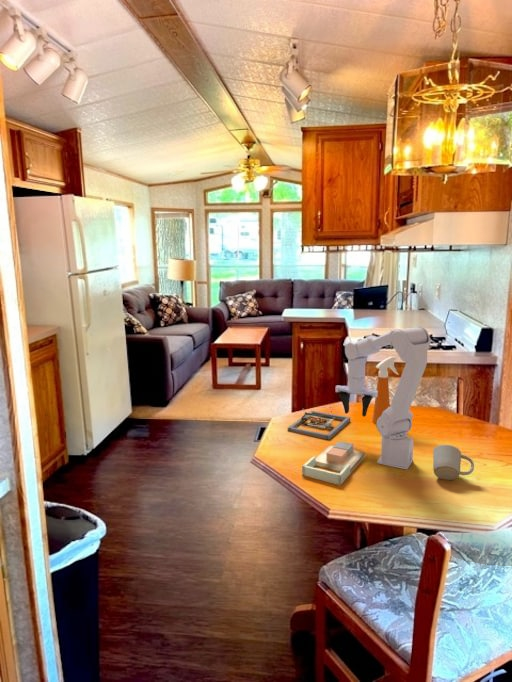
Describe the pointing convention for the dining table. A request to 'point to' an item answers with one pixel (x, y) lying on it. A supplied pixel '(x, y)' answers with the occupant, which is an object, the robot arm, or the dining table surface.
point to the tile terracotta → (336, 455)
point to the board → (352, 460)
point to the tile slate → (345, 447)
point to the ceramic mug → (449, 462)
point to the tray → (324, 472)
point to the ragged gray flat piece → (325, 424)
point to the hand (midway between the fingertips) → (355, 414)
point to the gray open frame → (317, 434)
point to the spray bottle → (383, 387)
